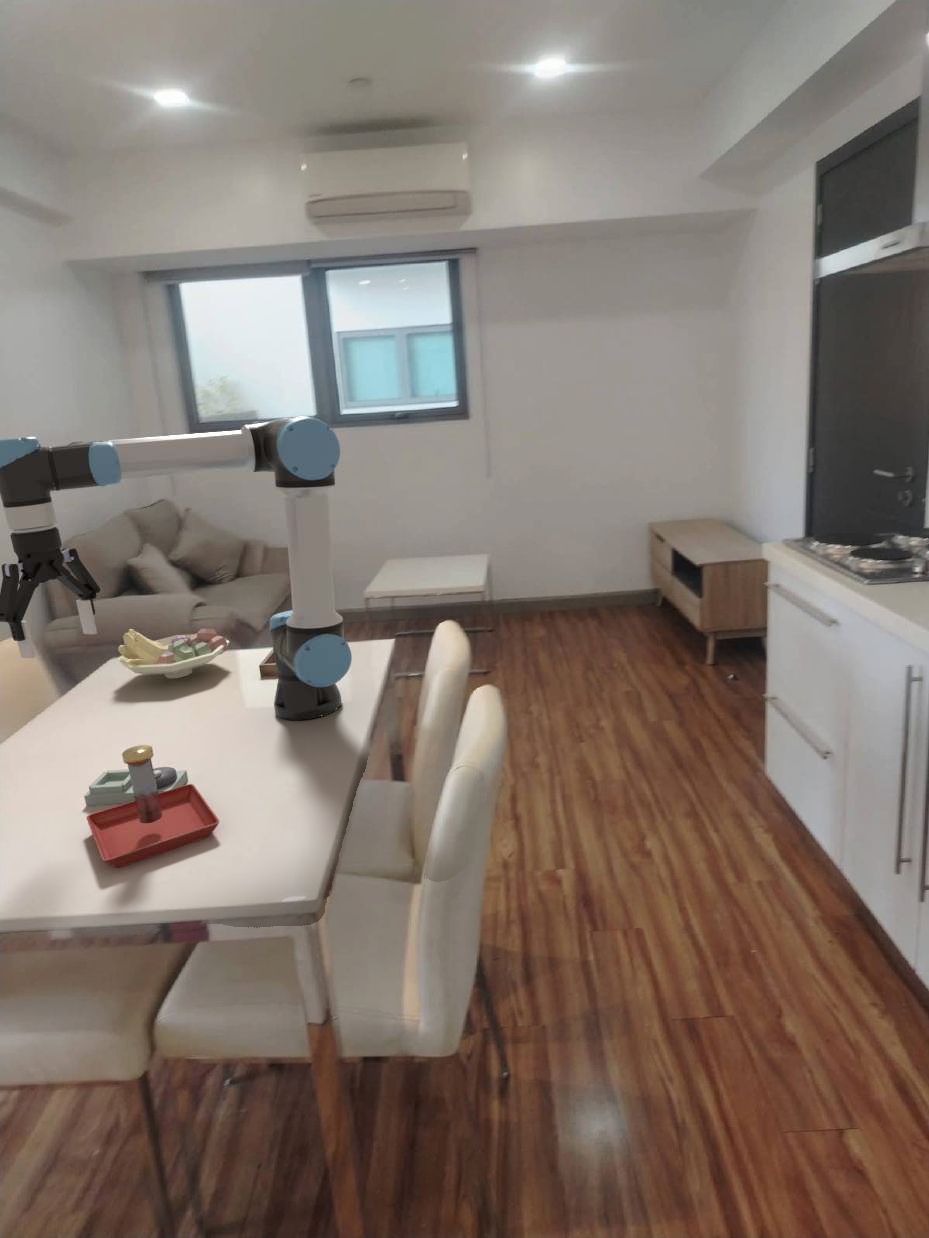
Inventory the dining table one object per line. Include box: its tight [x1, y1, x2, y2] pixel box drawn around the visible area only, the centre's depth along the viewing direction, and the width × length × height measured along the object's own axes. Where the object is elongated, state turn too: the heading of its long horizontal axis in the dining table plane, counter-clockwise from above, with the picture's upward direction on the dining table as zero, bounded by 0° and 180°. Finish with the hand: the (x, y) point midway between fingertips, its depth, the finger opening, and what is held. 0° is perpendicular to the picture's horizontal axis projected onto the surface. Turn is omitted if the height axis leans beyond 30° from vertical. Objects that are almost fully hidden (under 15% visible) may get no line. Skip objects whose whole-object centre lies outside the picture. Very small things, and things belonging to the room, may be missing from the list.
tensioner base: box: [83, 766, 189, 807], centre depth 147 cm, size 16×8×4 cm, turn 88°
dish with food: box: [117, 628, 230, 679], centre depth 212 cm, size 28×28×14 cm
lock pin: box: [121, 744, 162, 823], centre depth 131 cm, size 5×5×12 cm
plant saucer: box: [86, 783, 220, 868], centre depth 133 cm, size 18×18×3 cm
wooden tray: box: [258, 648, 277, 677], centre depth 214 cm, size 16×18×3 cm
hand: (60, 645), depth 144 cm, fingers open, 13 cm apart
